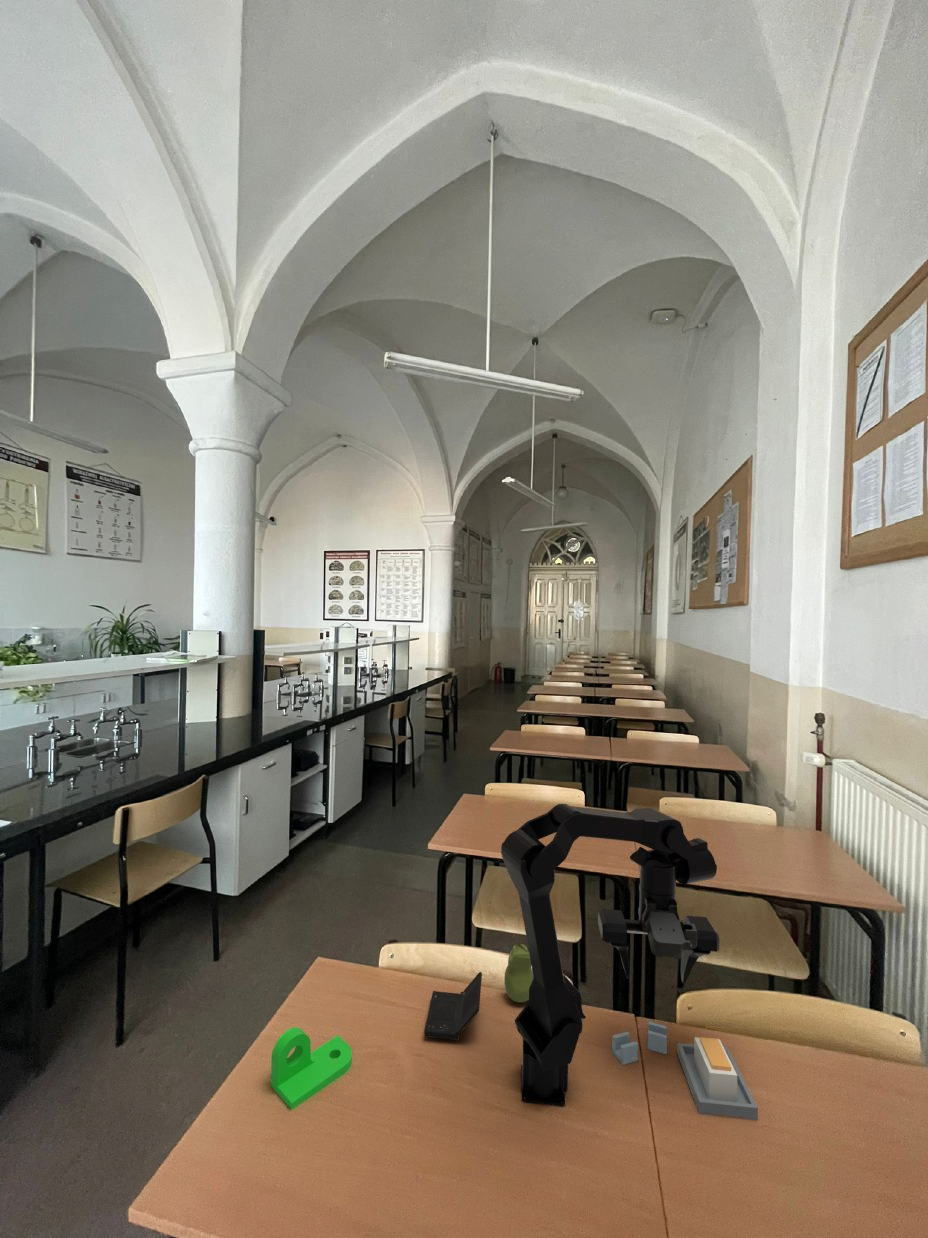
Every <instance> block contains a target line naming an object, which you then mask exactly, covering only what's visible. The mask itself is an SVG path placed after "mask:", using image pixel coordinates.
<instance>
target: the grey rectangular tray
mask: <svg viewBox="0 0 928 1238" xmlns="http://www.w3.org/2000/svg"><path fill="white" fill-rule="evenodd" d="M676 1048H677V1049H676V1050H677V1051H676V1054H677V1057H678V1059H679V1062H680V1065H681V1068H682V1071H683V1074H684V1076H685V1079H686V1081H687V1083H688V1087H689V1090H690V1092H691V1096H692V1098H693V1100H694V1103H695V1106H696V1109H697V1112H698V1113H699V1114H701V1115H708V1116H717V1117H727V1118H735V1119H742V1120H744V1119H745V1120H750V1121H751V1120H753V1121H758V1116H759V1108H758V1106H757V1103H756V1101H755V1099H754V1098H753V1096H752V1093H751V1091H750V1089H749V1087H748V1085H747V1083H746V1080H745V1079H744V1077H743V1074H742V1073H741V1070H740V1069H739V1067H738V1064H737V1063H736V1060H735V1059H734V1057H733V1055H732V1052H731V1050H730V1049H729V1047H724V1049H725V1051H726V1053H727V1055H728V1057H729V1059H730V1061H731V1063H732V1065H733V1068H734V1070H735V1072H736V1074H737V1102H732V1101H722V1100H712V1099H709V1098H708V1095H707V1093H706V1090H705V1088H704V1085H703V1083H702V1080H701V1078H700V1075H699V1073H698V1071H697V1068H696V1066H695V1063H694V1044H692V1043H682V1042H680V1043H679V1042H677V1045H676Z"/></svg>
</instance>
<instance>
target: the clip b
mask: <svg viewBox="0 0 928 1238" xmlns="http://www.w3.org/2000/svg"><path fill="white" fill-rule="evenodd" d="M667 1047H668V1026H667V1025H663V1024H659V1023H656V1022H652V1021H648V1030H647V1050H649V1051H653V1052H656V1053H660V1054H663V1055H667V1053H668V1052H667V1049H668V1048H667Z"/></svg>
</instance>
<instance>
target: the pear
mask: <svg viewBox="0 0 928 1238" xmlns="http://www.w3.org/2000/svg"><path fill="white" fill-rule="evenodd" d="M507 958H508V959H507V966H506V969H505V971H504V977H503V978H504V989H505V992H506V994H507V996H508V997H509V999H510V1000H512V1001H513V1002H515V1003H517V1004H518V1003H520V1004H521V1003H525V1002H527V1001H529V987H530V985H531V983H532V980H533V971H532V965H531V960H530V954H529V949H528V947H527V946H526V944H523V943H522V944H521V943H518V945H513V946H512V949H511V950H510V952H509V955H508V957H507Z"/></svg>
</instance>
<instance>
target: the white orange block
mask: <svg viewBox="0 0 928 1238" xmlns="http://www.w3.org/2000/svg"><path fill="white" fill-rule="evenodd" d="M693 1041H694V1042H693V1043H694V1063H695V1066H696V1068H697V1071H698V1073H699V1075H700V1078H701V1080H702V1083H703V1085H704V1088H705V1090H706V1093H707V1095H708V1098H709V1099H712V1100H722V1101H732V1102H737V1074H736V1072H735V1070H734V1068H733V1065H732V1063H731V1061H730V1059H729V1057H728V1055H727V1053H726V1051H725V1049H724V1048H725V1046H724V1045H723V1043H722V1041H721V1039H720V1038H719V1039H718V1038H712V1037H703V1036H702V1037H701V1036H700V1037H694V1040H693Z"/></svg>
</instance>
